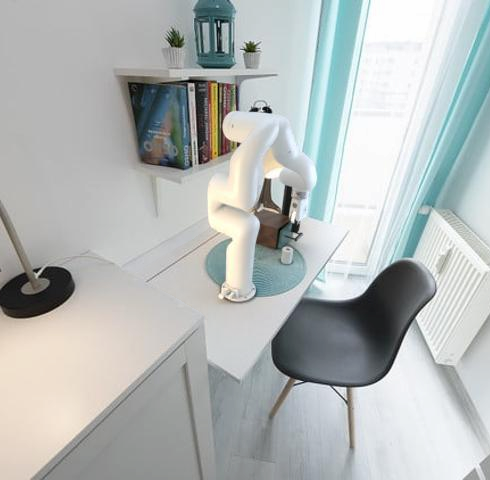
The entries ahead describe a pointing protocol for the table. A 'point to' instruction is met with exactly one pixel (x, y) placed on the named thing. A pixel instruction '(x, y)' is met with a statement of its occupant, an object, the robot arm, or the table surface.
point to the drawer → (286, 235)
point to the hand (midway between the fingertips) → (295, 231)
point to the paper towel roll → (287, 255)
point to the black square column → (286, 200)
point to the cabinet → (270, 227)
